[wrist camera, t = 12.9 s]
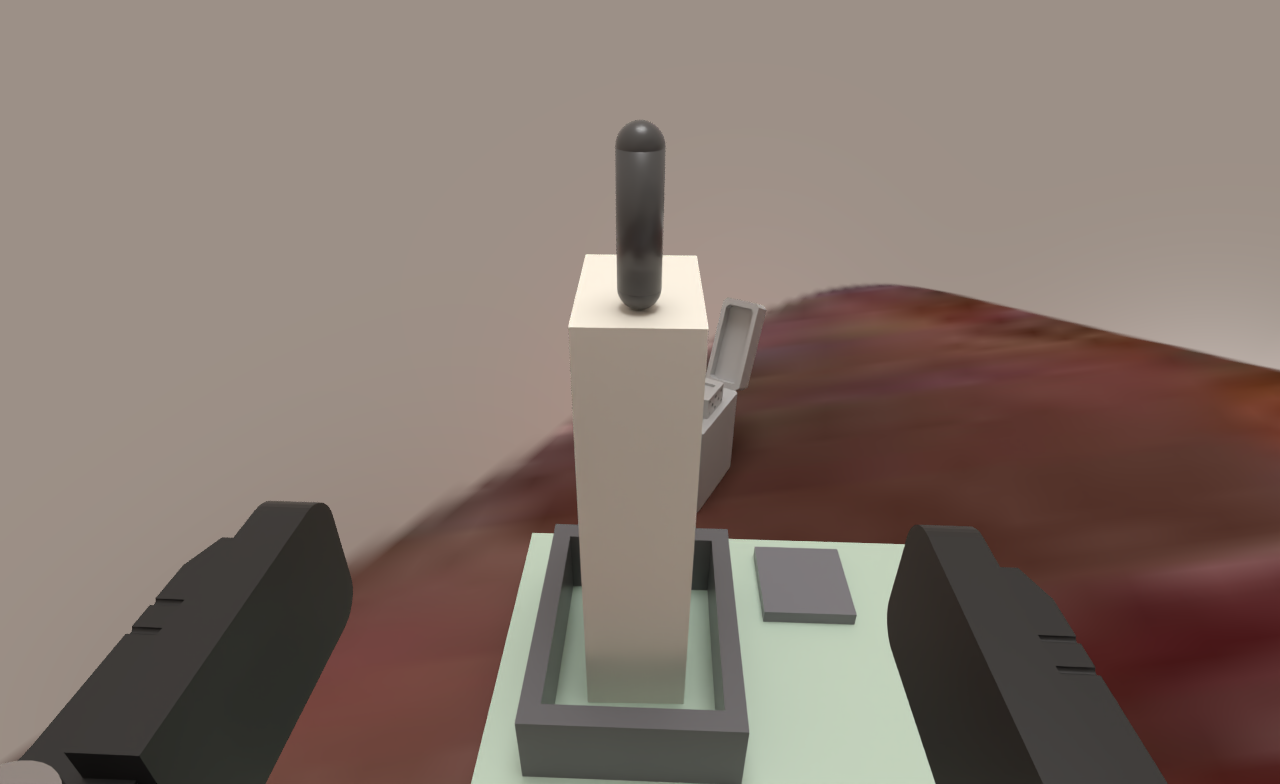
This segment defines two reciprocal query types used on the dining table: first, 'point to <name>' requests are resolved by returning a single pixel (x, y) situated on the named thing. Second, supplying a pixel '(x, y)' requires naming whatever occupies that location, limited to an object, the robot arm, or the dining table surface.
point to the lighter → (726, 387)
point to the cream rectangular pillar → (637, 438)
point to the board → (714, 676)
